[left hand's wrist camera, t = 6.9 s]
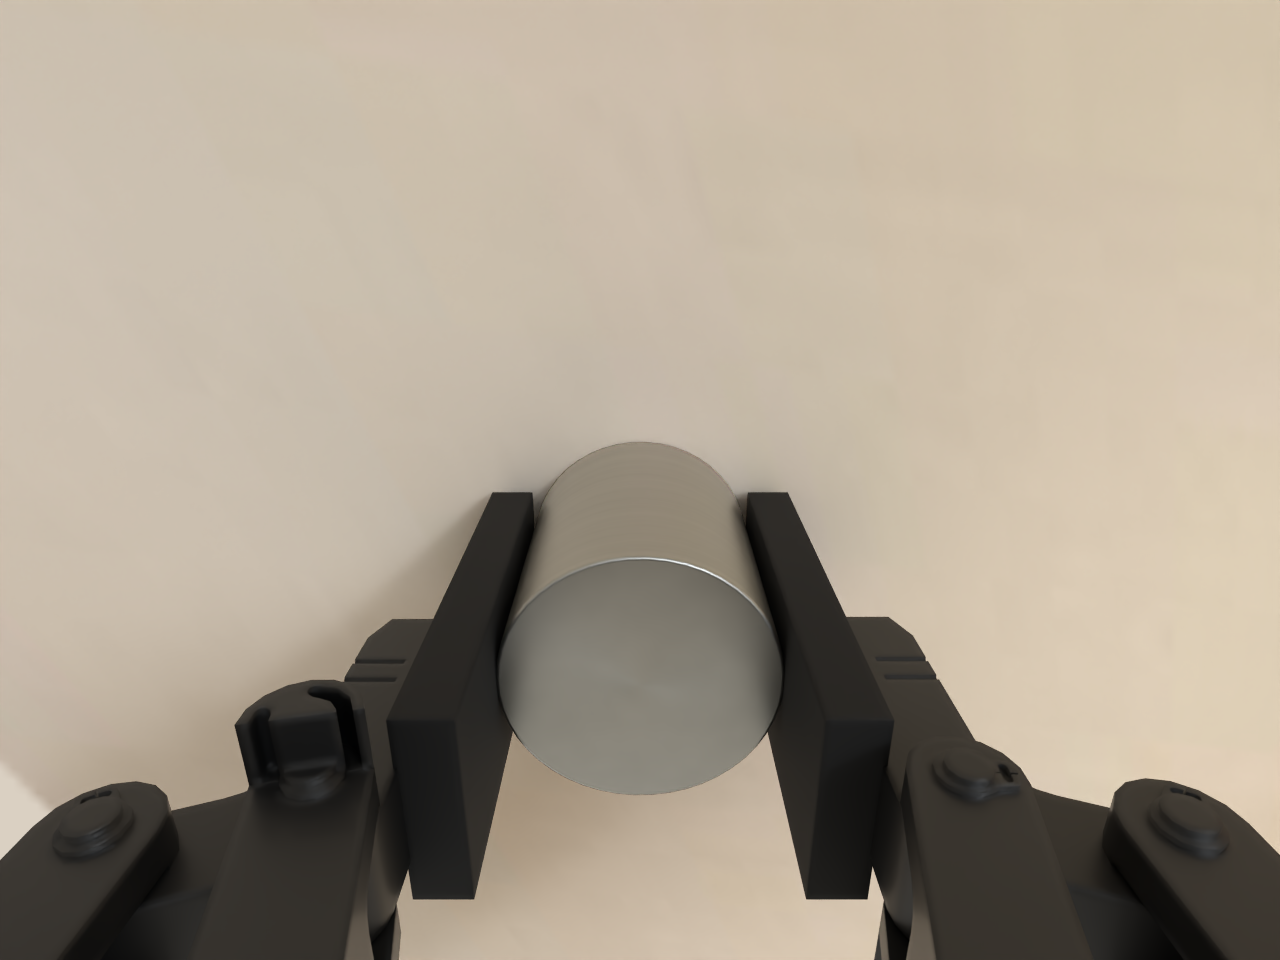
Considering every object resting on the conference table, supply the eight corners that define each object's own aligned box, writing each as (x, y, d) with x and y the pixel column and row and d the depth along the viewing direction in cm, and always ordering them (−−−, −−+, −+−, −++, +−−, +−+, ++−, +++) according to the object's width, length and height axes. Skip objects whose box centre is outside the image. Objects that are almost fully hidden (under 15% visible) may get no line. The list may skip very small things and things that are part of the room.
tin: (550, 634, 16) (518, 805, 12) (522, 450, 14) (472, 568, 10) (747, 620, 16) (787, 787, 11) (740, 432, 14) (783, 545, 10)
